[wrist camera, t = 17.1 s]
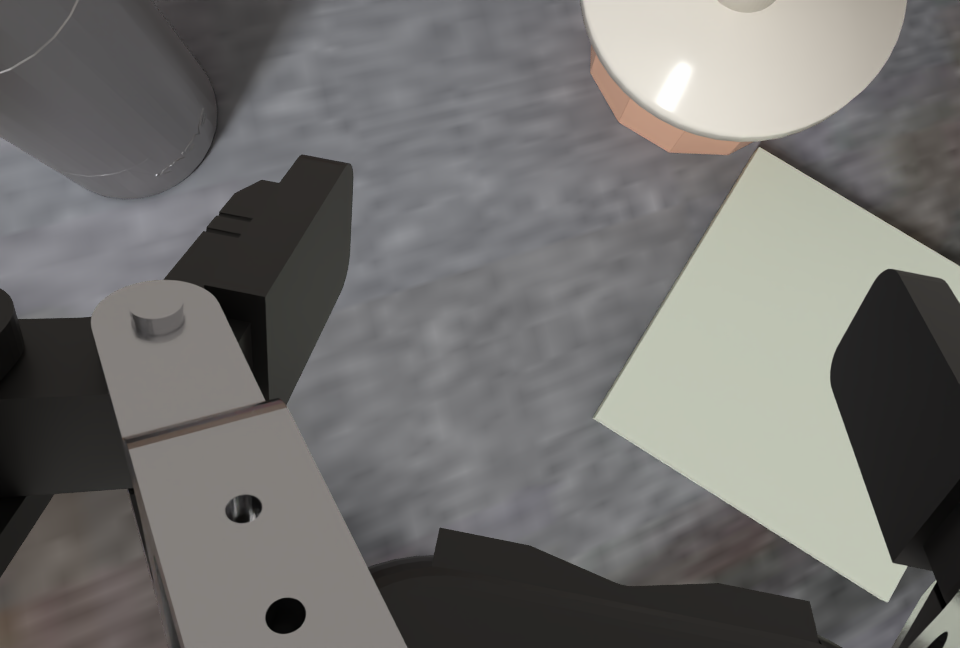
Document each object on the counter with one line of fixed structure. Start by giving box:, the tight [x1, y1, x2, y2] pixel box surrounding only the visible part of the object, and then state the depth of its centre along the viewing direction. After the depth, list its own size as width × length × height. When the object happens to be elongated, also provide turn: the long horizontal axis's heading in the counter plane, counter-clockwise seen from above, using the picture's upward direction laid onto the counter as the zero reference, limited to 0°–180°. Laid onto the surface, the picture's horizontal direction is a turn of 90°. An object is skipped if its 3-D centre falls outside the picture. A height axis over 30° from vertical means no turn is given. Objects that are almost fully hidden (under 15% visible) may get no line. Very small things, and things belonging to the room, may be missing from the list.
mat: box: [593, 147, 960, 602], centre depth 40 cm, size 17×17×1 cm
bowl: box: [590, 45, 754, 155], centre depth 40 cm, size 12×12×6 cm
